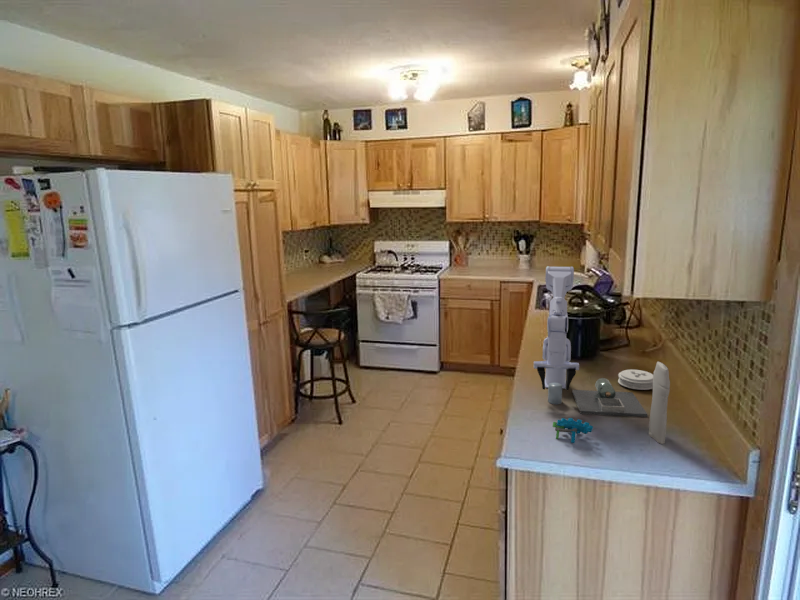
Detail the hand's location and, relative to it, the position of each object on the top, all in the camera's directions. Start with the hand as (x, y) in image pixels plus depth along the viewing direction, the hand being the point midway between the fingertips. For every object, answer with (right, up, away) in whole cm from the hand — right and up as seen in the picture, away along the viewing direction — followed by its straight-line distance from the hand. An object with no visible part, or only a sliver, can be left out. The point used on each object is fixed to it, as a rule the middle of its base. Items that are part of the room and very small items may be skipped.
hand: (555, 388), depth 170 cm
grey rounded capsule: (0, -5, +1) cm, 5 cm away
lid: (+34, -1, +14) cm, 37 cm away
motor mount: (+17, -5, -2) cm, 18 cm away
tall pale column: (+22, -9, -25) cm, 34 cm away
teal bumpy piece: (-3, -10, -24) cm, 27 cm away
